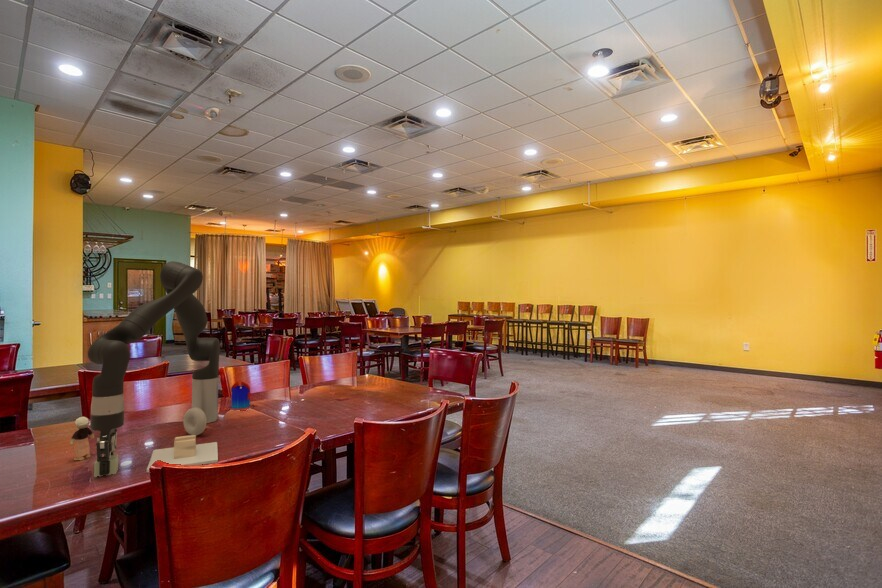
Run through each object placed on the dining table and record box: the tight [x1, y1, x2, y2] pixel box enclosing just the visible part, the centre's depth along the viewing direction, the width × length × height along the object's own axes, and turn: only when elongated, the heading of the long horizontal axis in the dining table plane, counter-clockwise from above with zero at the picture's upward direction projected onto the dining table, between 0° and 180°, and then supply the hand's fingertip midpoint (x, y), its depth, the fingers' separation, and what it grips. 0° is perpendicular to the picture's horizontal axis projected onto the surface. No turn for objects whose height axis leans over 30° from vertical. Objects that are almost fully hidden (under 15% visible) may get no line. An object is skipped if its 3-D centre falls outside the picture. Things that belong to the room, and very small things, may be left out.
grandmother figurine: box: [69, 416, 96, 461], centre depth 134 cm, size 8×4×13 cm, turn 5°
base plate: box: [146, 441, 219, 473], centre depth 136 cm, size 18×18×1 cm
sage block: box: [93, 454, 119, 478], centre depth 124 cm, size 5×5×4 cm
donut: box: [182, 407, 208, 437], centre depth 158 cm, size 10×4×10 cm, turn 66°
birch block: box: [173, 434, 197, 459], centre depth 136 cm, size 6×6×5 cm
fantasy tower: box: [222, 381, 258, 412], centre depth 197 cm, size 12×12×12 cm
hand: (106, 470), depth 124 cm, fingers closed on sage block, 4 cm apart
